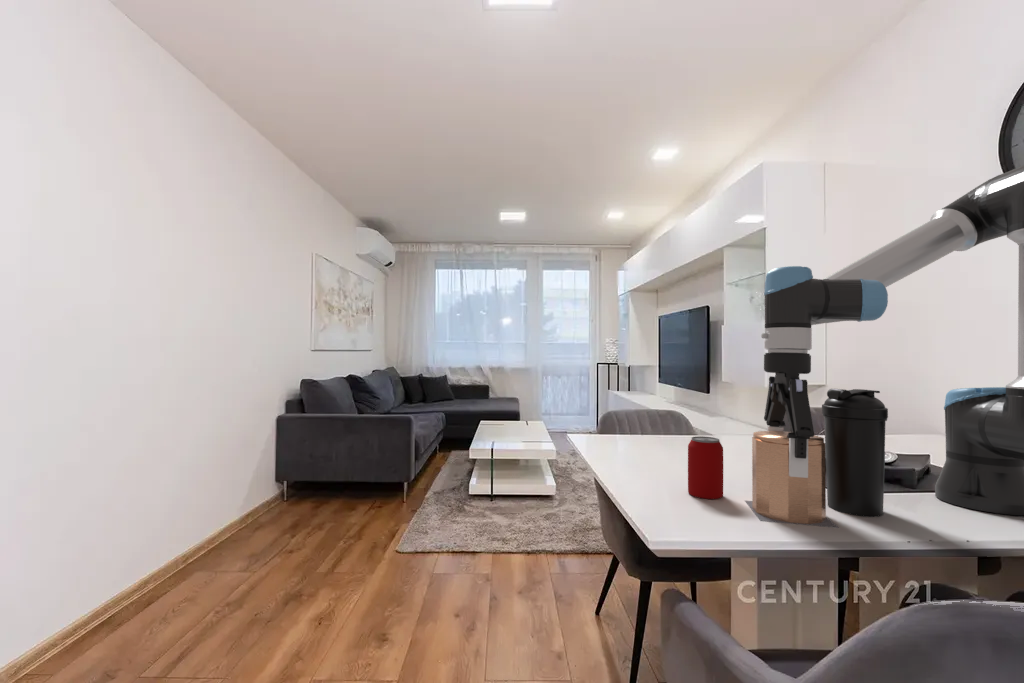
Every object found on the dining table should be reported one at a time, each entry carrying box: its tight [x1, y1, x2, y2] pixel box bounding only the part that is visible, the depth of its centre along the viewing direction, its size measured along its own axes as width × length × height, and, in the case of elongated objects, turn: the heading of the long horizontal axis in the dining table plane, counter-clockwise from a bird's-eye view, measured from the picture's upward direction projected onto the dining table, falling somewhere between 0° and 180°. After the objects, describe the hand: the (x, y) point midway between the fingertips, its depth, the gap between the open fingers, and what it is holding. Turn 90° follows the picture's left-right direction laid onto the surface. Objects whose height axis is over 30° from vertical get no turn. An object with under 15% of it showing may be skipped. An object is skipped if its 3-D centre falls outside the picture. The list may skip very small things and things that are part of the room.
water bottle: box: [821, 388, 889, 518], centre depth 91 cm, size 10×10×23 cm
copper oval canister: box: [751, 430, 827, 525], centre depth 88 cm, size 11×11×14 cm
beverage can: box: [687, 435, 724, 500], centre depth 99 cm, size 7×7×12 cm
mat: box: [744, 500, 840, 529], centre depth 88 cm, size 12×12×1 cm
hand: (785, 468), depth 88 cm, fingers open, 13 cm apart
